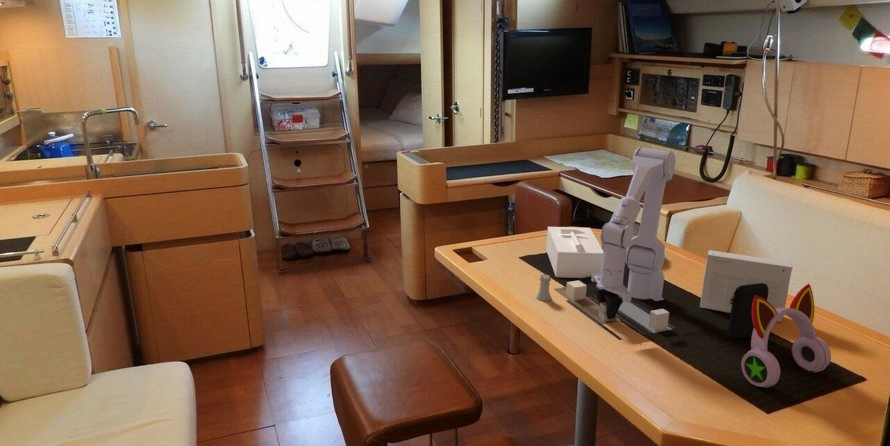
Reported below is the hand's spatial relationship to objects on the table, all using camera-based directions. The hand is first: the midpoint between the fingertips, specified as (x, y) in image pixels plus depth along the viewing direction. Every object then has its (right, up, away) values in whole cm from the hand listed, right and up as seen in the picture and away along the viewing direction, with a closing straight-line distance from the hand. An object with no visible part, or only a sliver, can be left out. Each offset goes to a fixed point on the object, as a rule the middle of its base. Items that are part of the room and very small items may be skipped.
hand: (607, 315), depth 168 cm
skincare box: (+39, 0, +10) cm, 41 cm away
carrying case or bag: (+33, -5, -5) cm, 34 cm away
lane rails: (+4, -1, +4) cm, 5 cm away
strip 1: (-4, +1, +9) cm, 10 cm away
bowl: (+23, +13, +50) cm, 57 cm away
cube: (-6, +3, +13) cm, 15 cm away
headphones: (+34, -11, -22) cm, 42 cm away
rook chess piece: (-15, +2, +13) cm, 20 cm away
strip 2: (+8, -1, +5) cm, 10 cm away
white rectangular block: (-1, +11, +42) cm, 44 cm away
